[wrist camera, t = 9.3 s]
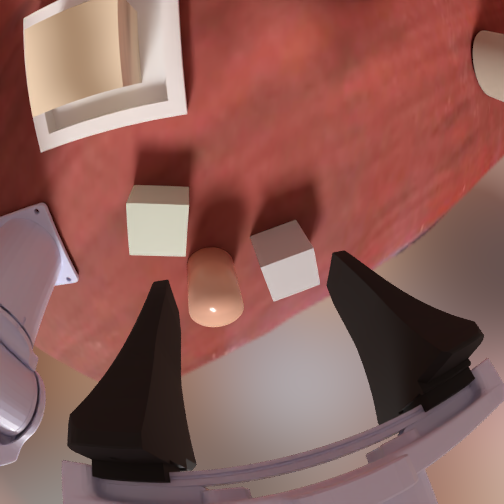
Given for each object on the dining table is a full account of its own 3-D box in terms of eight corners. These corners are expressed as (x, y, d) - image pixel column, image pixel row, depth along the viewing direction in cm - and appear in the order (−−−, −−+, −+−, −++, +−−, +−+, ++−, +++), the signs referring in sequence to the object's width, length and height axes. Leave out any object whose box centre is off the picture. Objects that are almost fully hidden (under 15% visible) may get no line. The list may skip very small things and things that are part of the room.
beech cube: (70, 102, 13) (32, 117, 9) (63, 35, 10) (24, 29, 6) (141, 82, 13) (123, 87, 9) (137, 11, 10) (117, -9, 6)
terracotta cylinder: (191, 286, 25) (194, 330, 21) (182, 251, 22) (183, 295, 18) (235, 279, 25) (245, 322, 21) (231, 243, 23) (241, 286, 19)
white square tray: (52, 144, 14) (40, 152, 13) (35, 20, 8) (23, 18, 7) (187, 110, 16) (187, 114, 14) (178, -26, 9) (177, -35, 8)
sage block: (135, 231, 20) (129, 254, 18) (134, 184, 18) (126, 203, 16) (185, 232, 21) (185, 256, 19) (188, 185, 19) (189, 205, 17)
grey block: (262, 269, 25) (273, 301, 22) (249, 235, 23) (260, 267, 20) (303, 254, 25) (319, 284, 22) (295, 219, 23) (313, 248, 20)
